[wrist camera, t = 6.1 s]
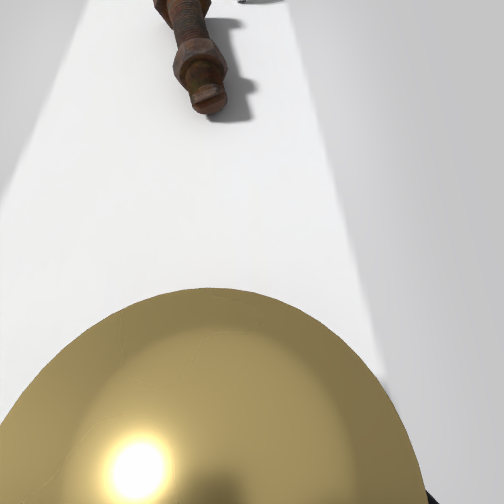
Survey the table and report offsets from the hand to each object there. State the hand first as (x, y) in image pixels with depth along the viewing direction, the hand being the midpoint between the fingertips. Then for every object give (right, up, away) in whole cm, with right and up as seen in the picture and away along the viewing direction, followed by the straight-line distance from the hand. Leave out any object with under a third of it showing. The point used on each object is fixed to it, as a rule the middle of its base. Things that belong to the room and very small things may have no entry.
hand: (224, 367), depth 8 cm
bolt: (-5, +22, +24) cm, 33 cm away
